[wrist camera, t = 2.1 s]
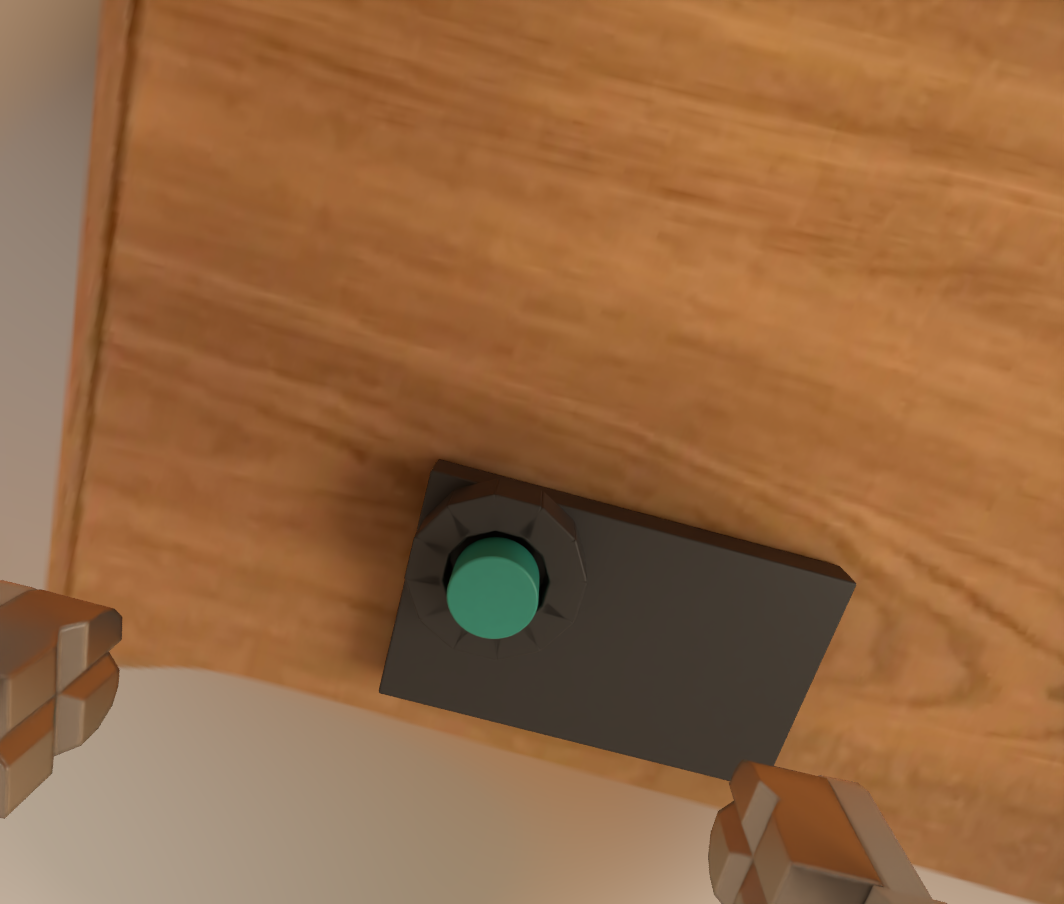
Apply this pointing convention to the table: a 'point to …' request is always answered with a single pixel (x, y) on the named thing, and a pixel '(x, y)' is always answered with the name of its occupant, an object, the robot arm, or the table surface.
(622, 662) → the scale
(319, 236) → the table surface
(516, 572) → the button
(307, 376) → the table surface
